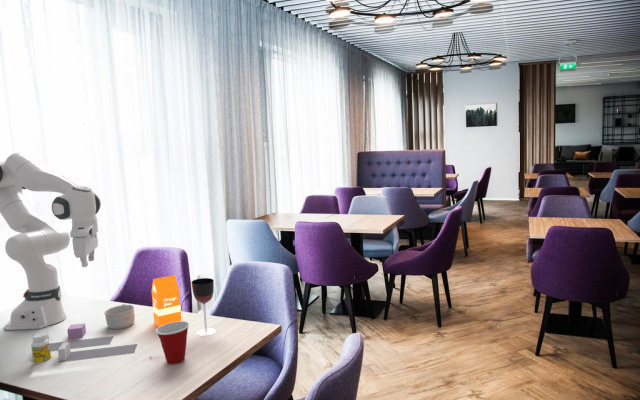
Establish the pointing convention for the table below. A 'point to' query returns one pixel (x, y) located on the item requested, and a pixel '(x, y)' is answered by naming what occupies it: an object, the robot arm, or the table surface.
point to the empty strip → (92, 352)
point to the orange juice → (166, 300)
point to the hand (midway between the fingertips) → (88, 263)
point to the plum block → (76, 331)
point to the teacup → (120, 316)
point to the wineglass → (203, 299)
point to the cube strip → (82, 343)
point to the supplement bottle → (40, 348)
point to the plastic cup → (173, 340)
